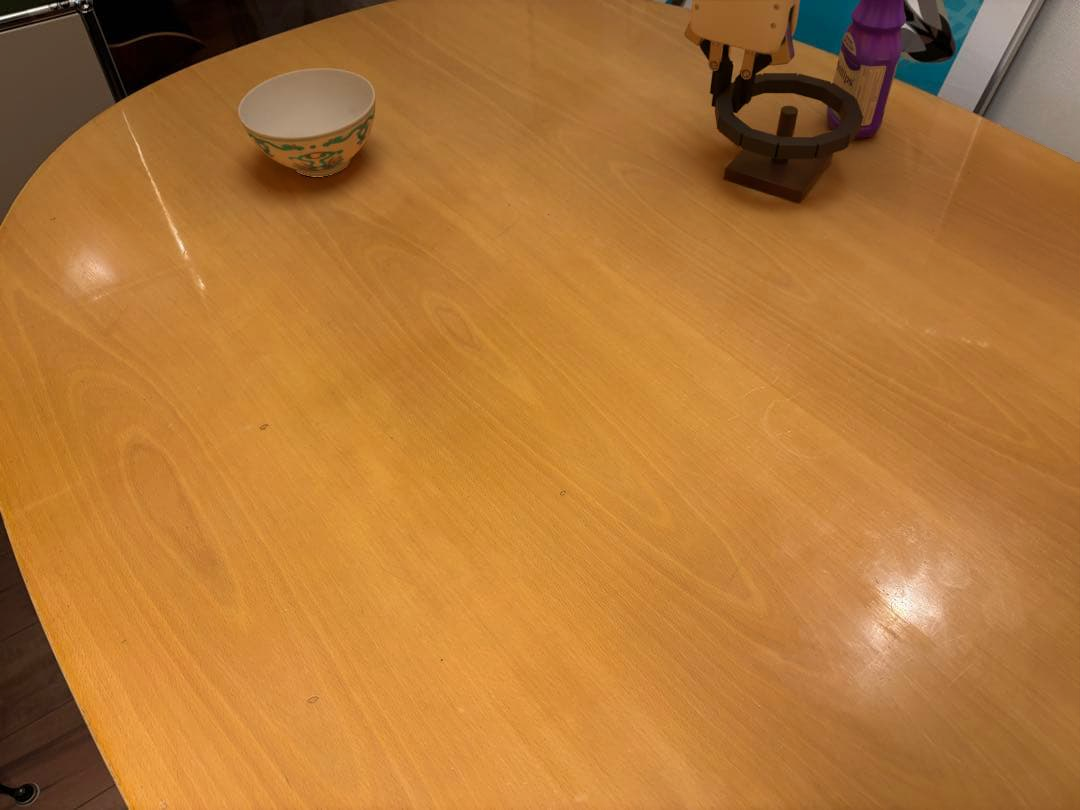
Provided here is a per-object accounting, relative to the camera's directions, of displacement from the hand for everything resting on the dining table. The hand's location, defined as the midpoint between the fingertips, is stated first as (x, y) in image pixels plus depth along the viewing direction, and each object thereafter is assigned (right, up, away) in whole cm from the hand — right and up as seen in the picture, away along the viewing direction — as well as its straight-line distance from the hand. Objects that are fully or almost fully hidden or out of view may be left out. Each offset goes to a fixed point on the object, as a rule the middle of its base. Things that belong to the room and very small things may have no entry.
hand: (729, 103), depth 95 cm
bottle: (+16, 0, +8) cm, 18 cm away
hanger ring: (+5, -3, -3) cm, 7 cm away
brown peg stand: (+6, -7, +2) cm, 9 cm away
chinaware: (-46, -5, +7) cm, 47 cm away
